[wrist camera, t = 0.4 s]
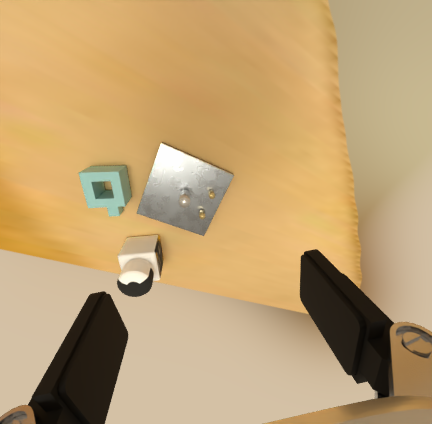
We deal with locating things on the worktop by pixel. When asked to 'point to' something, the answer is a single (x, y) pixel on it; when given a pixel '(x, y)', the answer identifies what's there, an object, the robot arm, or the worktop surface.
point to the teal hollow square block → (96, 189)
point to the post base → (179, 179)
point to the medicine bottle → (139, 264)
